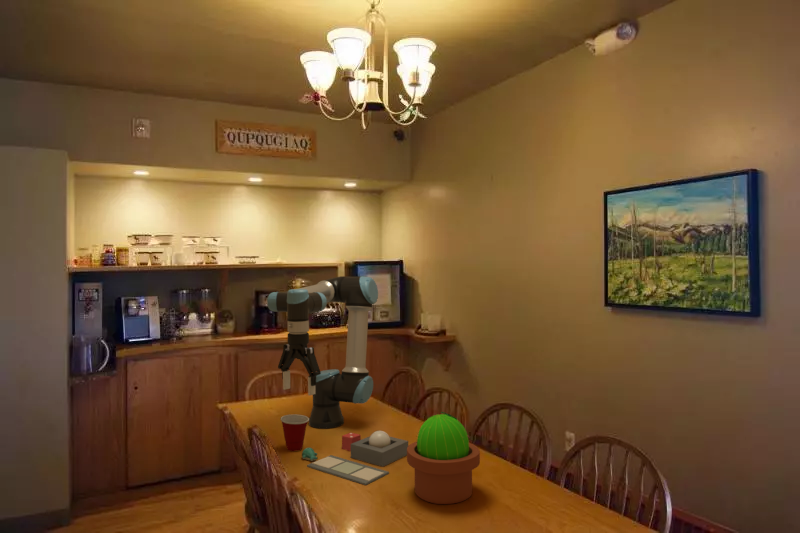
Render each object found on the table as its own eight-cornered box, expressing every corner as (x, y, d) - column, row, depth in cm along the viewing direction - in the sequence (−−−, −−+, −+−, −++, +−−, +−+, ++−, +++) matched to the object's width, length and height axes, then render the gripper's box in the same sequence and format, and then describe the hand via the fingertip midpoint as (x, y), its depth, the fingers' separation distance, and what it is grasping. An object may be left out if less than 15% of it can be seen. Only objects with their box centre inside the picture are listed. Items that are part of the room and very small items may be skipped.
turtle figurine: (313, 455, 210) (313, 444, 210) (321, 461, 203) (321, 450, 203) (298, 458, 206) (298, 447, 206) (306, 464, 200) (306, 453, 200)
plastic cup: (303, 454, 209) (303, 422, 209) (276, 452, 212) (275, 421, 211) (313, 445, 220) (313, 414, 220) (287, 443, 222) (287, 412, 222)
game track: (331, 456, 207) (331, 454, 207) (389, 473, 191) (389, 471, 191) (307, 466, 198) (306, 464, 198) (365, 485, 181) (365, 482, 181)
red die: (350, 445, 219) (350, 432, 219) (360, 447, 216) (360, 434, 216) (342, 448, 215) (341, 435, 215) (351, 451, 212) (351, 437, 212)
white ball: (378, 447, 213) (378, 426, 213) (395, 451, 208) (394, 430, 208) (364, 453, 207) (364, 431, 206) (381, 458, 202) (381, 436, 202)
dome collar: (377, 446, 218) (376, 433, 218) (408, 454, 209) (408, 441, 209) (350, 457, 206) (350, 444, 206) (382, 466, 197) (382, 452, 197)
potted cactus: (430, 514, 160) (430, 427, 160) (395, 486, 180) (395, 408, 179) (493, 498, 171) (493, 416, 170) (453, 474, 190) (453, 400, 190)
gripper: (267, 330, 207) (268, 388, 207) (314, 336, 191) (314, 399, 191) (284, 328, 213) (284, 384, 213) (330, 334, 197) (330, 394, 197)
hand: (299, 391), depth 202 cm, fingers open, 13 cm apart
